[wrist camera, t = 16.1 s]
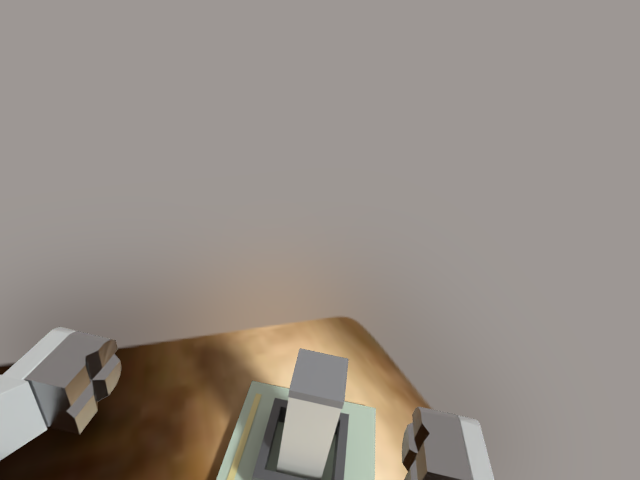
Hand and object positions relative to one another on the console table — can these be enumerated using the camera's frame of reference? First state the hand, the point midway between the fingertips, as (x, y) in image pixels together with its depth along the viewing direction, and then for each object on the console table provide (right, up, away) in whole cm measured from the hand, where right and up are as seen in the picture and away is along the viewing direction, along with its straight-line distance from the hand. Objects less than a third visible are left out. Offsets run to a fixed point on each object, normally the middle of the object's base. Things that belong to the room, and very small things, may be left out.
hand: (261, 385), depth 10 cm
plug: (0, -17, +25) cm, 30 cm away
